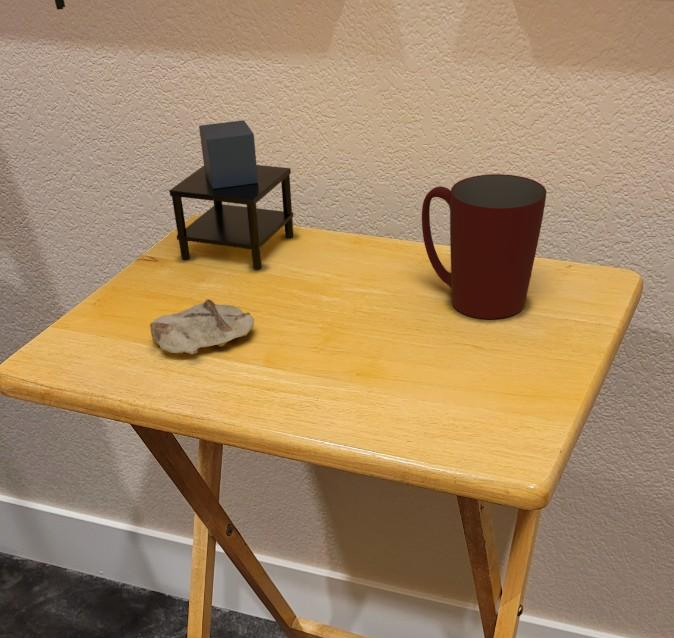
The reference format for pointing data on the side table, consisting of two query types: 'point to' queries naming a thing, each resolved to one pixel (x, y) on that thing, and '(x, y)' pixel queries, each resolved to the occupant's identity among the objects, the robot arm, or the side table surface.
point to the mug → (489, 241)
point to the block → (229, 154)
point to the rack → (234, 212)
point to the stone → (200, 327)
